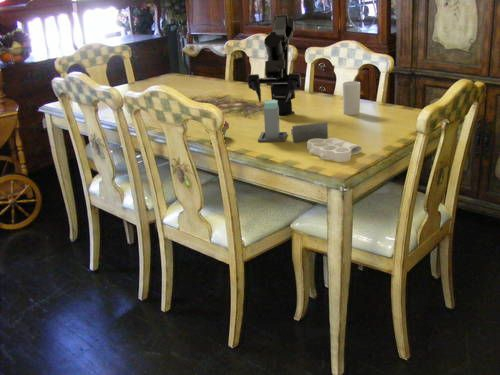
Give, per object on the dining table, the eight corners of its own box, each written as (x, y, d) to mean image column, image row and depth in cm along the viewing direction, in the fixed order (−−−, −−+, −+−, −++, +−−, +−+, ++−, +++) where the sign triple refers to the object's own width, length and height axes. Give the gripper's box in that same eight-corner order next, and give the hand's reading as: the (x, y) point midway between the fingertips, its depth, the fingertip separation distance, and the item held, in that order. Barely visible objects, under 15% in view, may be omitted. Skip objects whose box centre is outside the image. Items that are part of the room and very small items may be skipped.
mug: (363, 114, 234) (363, 83, 230) (347, 116, 232) (347, 85, 228) (351, 108, 243) (351, 79, 239) (336, 110, 241) (336, 81, 237)
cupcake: (206, 136, 219) (203, 104, 215) (229, 134, 220) (226, 102, 215) (206, 143, 211) (203, 109, 207) (230, 141, 212) (228, 107, 207)
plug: (267, 136, 213) (265, 100, 209) (279, 136, 213) (278, 99, 208) (265, 140, 209) (263, 103, 205) (278, 139, 209) (276, 103, 204)
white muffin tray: (368, 155, 190) (332, 166, 183) (331, 143, 204) (297, 152, 197) (368, 145, 189) (332, 156, 182) (331, 133, 203) (296, 142, 196)
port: (286, 135, 214) (285, 119, 212) (319, 131, 216) (318, 115, 214) (293, 143, 205) (293, 126, 202) (327, 140, 206) (327, 123, 204)
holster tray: (261, 135, 216) (261, 132, 216) (286, 135, 215) (286, 131, 214) (258, 143, 208) (258, 139, 207) (284, 142, 206) (283, 139, 206)
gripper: (246, 51, 211) (242, 89, 205) (299, 49, 208) (297, 88, 202) (251, 69, 221) (247, 106, 215) (302, 68, 218) (300, 105, 212)
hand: (272, 101), depth 210 cm, fingers open, 9 cm apart
